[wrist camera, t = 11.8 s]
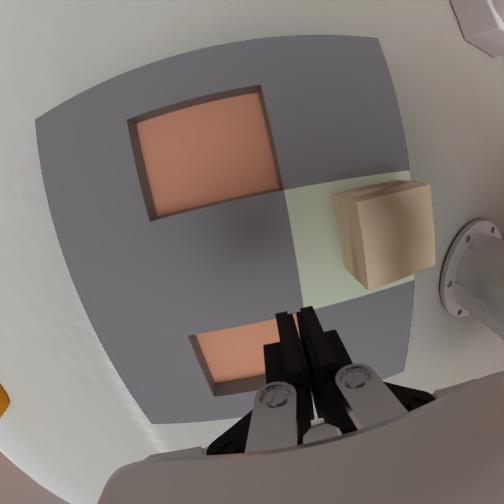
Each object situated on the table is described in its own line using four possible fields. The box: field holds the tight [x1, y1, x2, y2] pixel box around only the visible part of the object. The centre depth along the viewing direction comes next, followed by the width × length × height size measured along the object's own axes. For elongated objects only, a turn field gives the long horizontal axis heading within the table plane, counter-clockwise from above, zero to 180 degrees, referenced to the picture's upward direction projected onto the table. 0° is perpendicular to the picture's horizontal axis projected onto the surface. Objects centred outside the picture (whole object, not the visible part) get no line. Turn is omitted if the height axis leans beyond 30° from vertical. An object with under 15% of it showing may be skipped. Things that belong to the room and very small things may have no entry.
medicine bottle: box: [451, 0, 504, 57], centre depth 10 cm, size 7×7×12 cm
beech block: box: [331, 179, 435, 291], centre depth 18 cm, size 6×6×4 cm
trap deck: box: [35, 35, 414, 424], centre depth 22 cm, size 30×34×2 cm
